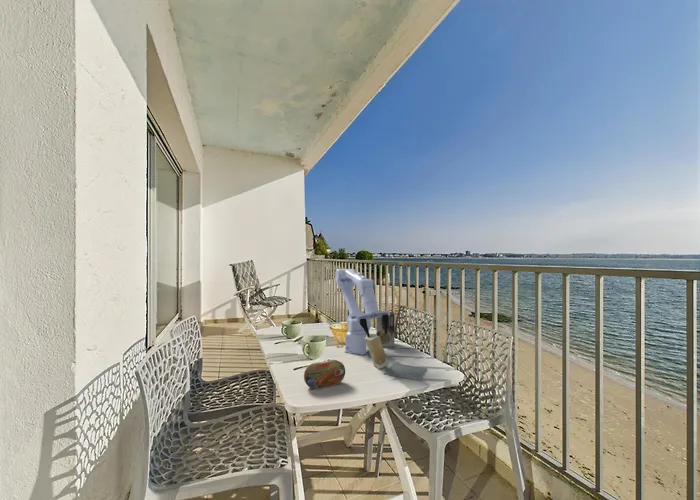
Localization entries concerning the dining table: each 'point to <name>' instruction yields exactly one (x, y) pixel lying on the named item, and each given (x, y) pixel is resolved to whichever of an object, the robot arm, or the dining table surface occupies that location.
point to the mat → (406, 371)
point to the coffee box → (389, 337)
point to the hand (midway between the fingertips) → (377, 335)
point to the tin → (324, 374)
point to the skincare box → (376, 351)
